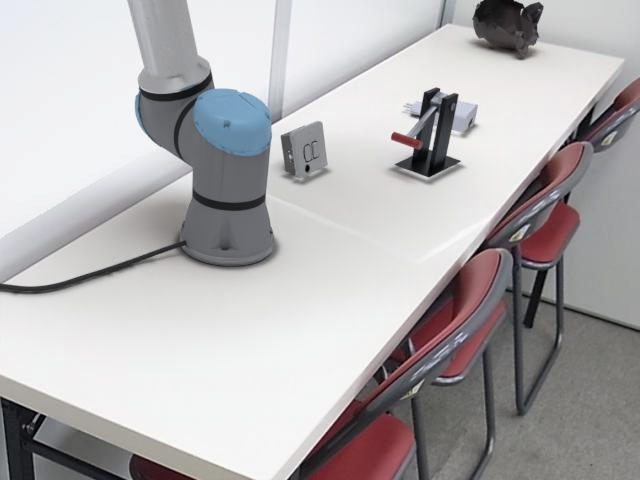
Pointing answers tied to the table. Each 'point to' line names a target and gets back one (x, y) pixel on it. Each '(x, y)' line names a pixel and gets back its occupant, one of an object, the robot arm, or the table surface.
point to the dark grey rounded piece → (507, 23)
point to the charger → (461, 119)
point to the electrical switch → (304, 149)
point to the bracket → (436, 158)
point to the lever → (420, 124)
